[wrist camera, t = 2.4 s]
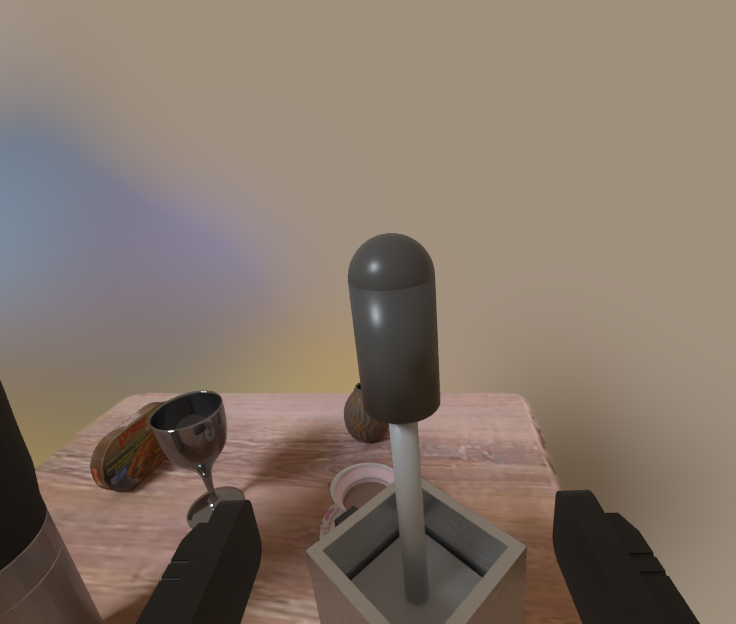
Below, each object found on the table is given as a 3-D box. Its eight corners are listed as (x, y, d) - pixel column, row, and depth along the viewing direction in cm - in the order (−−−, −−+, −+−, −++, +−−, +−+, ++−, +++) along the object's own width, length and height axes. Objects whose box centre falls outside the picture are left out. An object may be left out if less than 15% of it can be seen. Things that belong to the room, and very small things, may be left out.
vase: (357, 418, 68) (351, 371, 65) (396, 424, 65) (392, 376, 62) (339, 444, 62) (331, 395, 59) (382, 453, 59) (376, 401, 56)
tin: (116, 506, 55) (95, 455, 52) (98, 502, 56) (77, 452, 53) (190, 435, 68) (177, 391, 65) (175, 433, 69) (161, 390, 66)
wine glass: (216, 542, 48) (183, 436, 42) (169, 522, 51) (133, 422, 46) (260, 492, 54) (236, 395, 49) (215, 478, 58) (188, 386, 52)
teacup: (433, 500, 50) (430, 460, 48) (407, 593, 40) (402, 547, 38) (344, 482, 55) (339, 444, 53) (300, 561, 44) (291, 518, 42)
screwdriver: (337, 599, 28) (272, 244, 20) (413, 529, 33) (388, 217, 24) (423, 699, 23) (385, 263, 14) (500, 598, 27) (508, 223, 19)
